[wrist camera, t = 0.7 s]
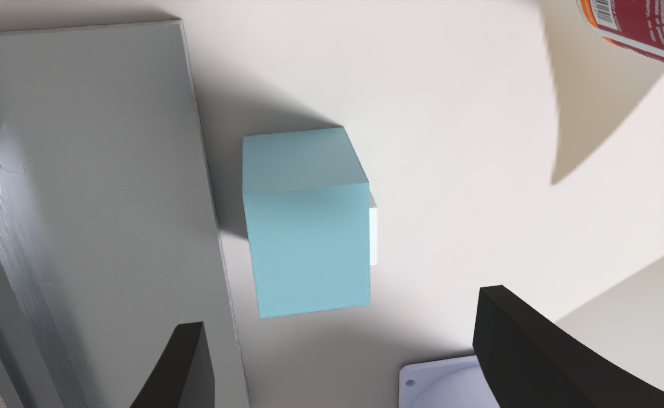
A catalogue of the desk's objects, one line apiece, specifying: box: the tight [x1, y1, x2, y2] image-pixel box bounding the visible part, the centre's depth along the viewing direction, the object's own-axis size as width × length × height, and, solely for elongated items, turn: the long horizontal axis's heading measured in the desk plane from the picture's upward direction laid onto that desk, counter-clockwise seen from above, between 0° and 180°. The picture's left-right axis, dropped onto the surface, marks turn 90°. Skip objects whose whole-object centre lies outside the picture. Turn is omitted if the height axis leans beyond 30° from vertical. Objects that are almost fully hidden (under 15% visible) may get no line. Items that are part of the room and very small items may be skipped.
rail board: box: [0, 19, 250, 408], centre depth 22 cm, size 22×10×3 cm, turn 3°
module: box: [242, 127, 377, 319], centre depth 20 cm, size 5×4×5 cm
